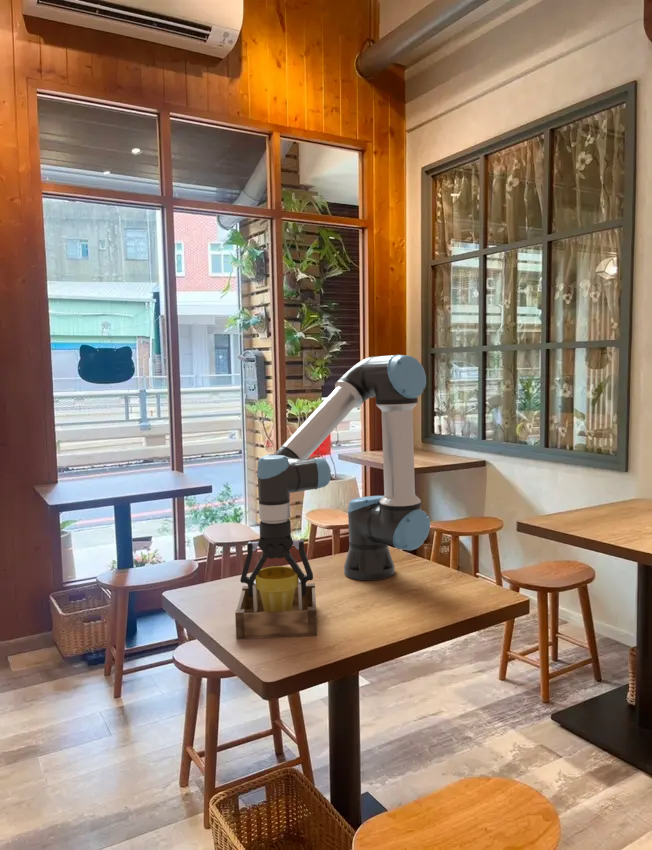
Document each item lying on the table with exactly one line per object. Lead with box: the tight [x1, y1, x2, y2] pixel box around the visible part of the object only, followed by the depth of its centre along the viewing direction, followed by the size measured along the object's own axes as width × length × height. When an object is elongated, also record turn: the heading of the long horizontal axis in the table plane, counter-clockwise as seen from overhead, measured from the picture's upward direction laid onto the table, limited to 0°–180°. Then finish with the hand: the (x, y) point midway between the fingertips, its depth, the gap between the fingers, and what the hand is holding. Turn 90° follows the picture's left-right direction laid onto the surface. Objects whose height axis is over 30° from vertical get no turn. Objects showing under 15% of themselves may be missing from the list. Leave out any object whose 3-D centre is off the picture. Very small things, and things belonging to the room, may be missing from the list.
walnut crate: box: [234, 582, 318, 640], centre depth 158 cm, size 19×19×6 cm
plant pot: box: [255, 565, 299, 612], centre depth 157 cm, size 10×10×10 cm
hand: (278, 608), depth 158 cm, fingers closed on plant pot, 10 cm apart
